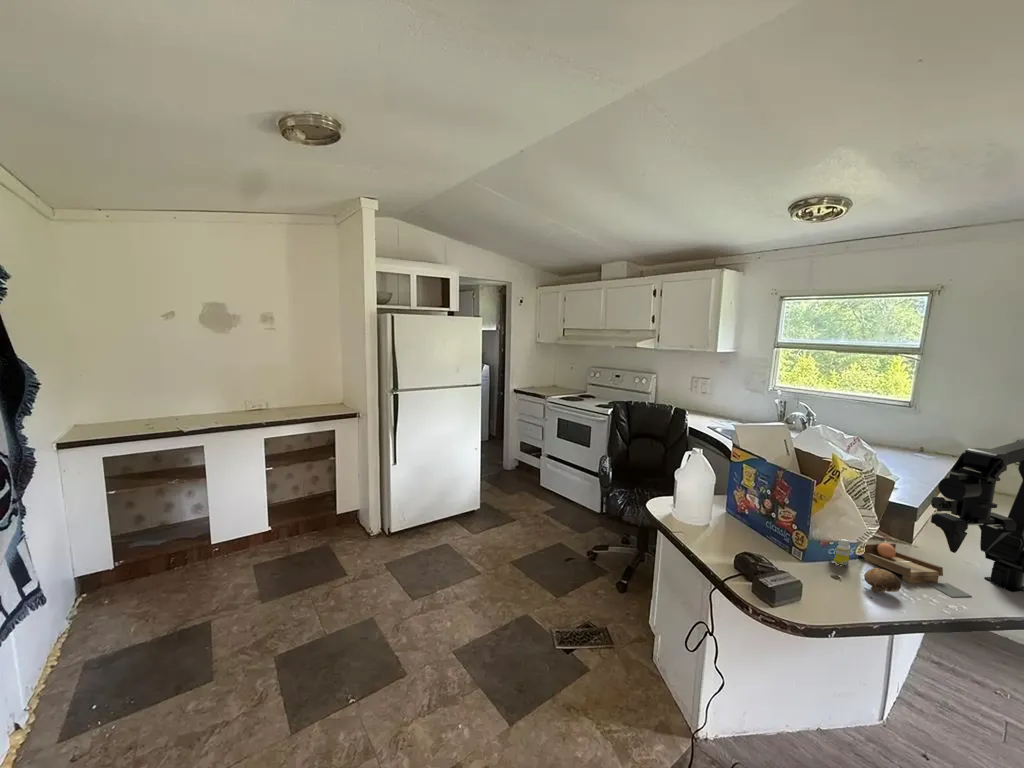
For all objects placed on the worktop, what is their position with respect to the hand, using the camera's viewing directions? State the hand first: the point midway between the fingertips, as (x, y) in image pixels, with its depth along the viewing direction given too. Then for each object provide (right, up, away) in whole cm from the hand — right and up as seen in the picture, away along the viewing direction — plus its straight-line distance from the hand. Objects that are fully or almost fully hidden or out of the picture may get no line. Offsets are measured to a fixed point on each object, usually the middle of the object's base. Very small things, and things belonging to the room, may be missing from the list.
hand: (968, 551), depth 116 cm
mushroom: (-23, -12, 0) cm, 26 cm away
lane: (-7, -10, +12) cm, 18 cm away
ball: (-8, -6, +19) cm, 21 cm away
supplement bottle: (-24, -10, +15) cm, 30 cm away
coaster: (-3, -12, +2) cm, 12 cm away
